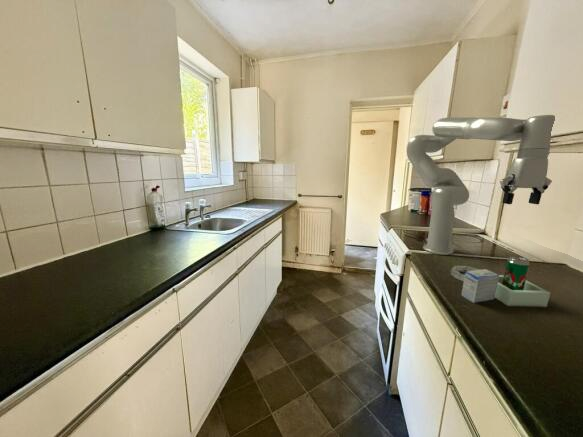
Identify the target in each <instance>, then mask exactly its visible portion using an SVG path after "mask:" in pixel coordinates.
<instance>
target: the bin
mask: <svg viewBox="0 0 583 437" xmlns="http://www.w3.org/2000/svg"><path fill="white" fill-rule="evenodd" d="M498 275H499V280H498V284H497V289H496V293H495V298H494V299H497V300H498V301H499V302H501V303H503V304H504V305H505V306H507V307H530V308H531V307H532V308H533V307H535V308H536V307H538V308H547V307H548V304H549V300H550V297H551V292H550V291H547V290H546V289H544V288H542V287H540V286H538V285H536V284H534V283H532V282H530V281H528V280H526V282H525V286H524V290H511V289H509V288H507V287H506V286H504V285H502V281H503V276H504V274H498Z"/></svg>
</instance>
